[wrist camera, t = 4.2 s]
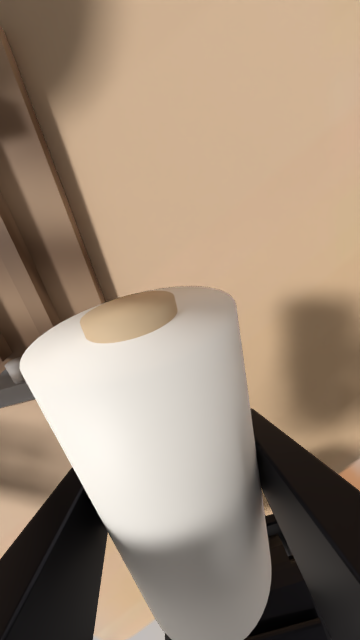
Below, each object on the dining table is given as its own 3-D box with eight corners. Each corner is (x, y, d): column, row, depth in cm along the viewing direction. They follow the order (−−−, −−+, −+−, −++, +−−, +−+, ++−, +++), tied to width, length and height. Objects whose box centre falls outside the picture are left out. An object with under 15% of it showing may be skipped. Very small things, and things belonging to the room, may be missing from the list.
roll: (245, 482, 11) (299, 637, 7) (147, 506, 11) (143, 676, 7) (208, 266, 7) (277, 320, 3) (61, 301, 7) (-58, 401, 3)
